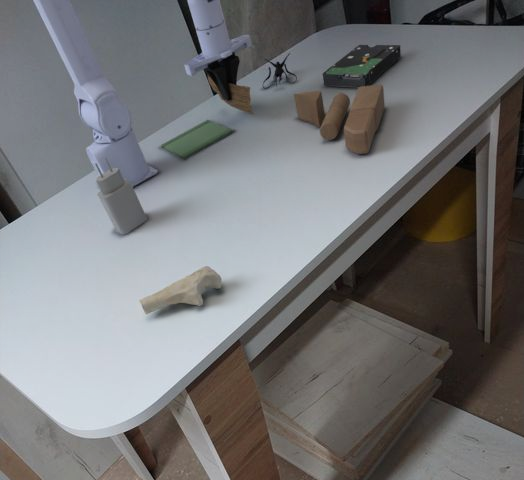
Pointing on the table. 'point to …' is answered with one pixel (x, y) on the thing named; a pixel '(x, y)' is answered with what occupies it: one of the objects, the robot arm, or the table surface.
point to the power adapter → (119, 200)
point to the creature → (278, 71)
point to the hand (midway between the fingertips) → (230, 97)
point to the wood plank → (236, 96)
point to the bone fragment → (183, 290)
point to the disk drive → (361, 65)
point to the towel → (196, 139)
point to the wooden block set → (358, 122)
